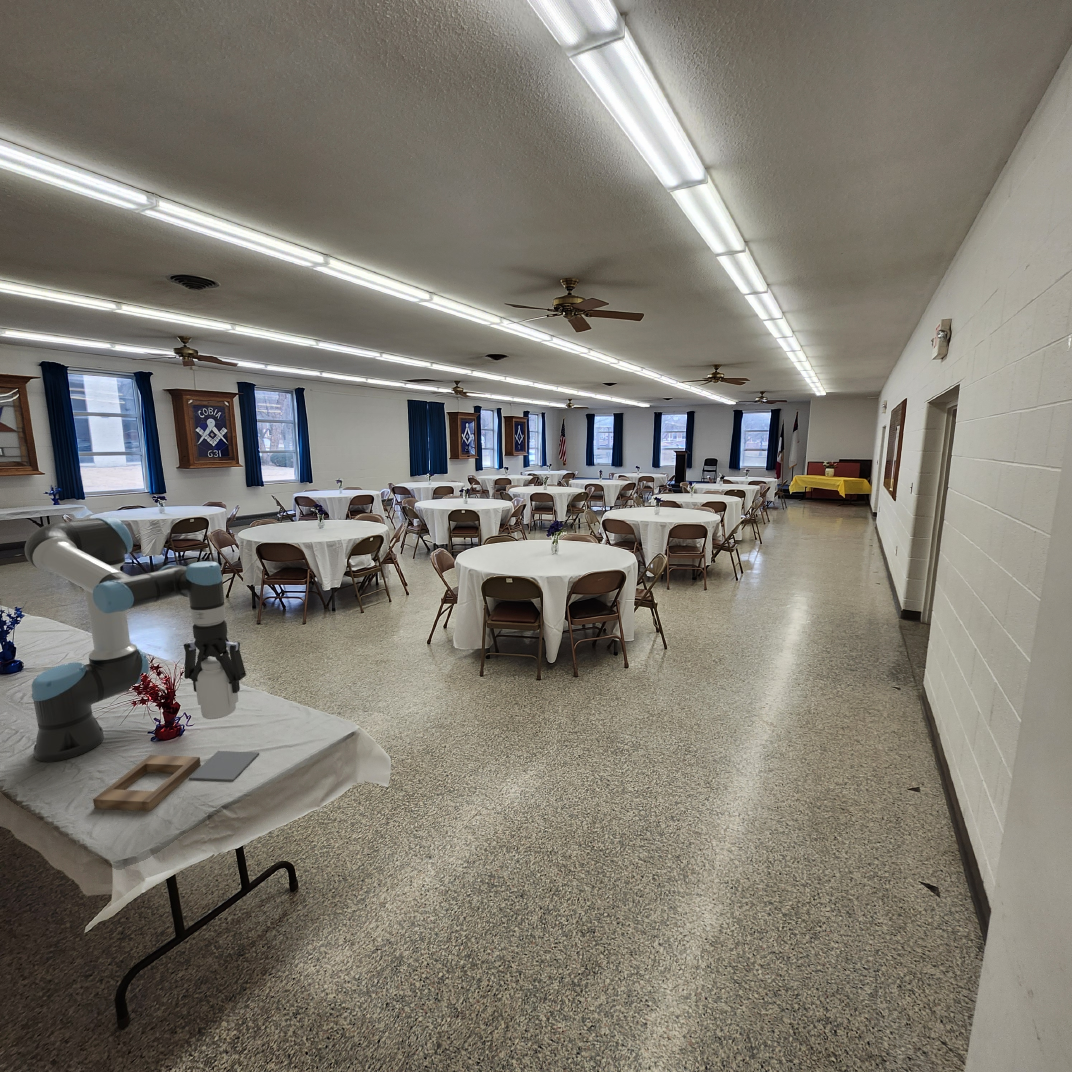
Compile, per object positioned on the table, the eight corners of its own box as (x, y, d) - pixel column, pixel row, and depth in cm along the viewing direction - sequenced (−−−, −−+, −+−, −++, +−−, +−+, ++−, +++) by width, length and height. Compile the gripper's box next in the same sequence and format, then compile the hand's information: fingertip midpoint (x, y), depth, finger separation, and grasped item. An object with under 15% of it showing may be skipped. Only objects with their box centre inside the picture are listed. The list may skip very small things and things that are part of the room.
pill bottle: (197, 722, 136) (191, 667, 133) (207, 707, 144) (201, 655, 141) (231, 718, 138) (226, 664, 136) (239, 703, 146) (234, 652, 143)
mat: (188, 779, 139) (188, 777, 138) (218, 752, 150) (218, 750, 150) (233, 781, 138) (233, 779, 138) (259, 754, 150) (259, 752, 150)
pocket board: (94, 808, 127) (92, 799, 127) (151, 763, 145) (150, 754, 145) (150, 810, 127) (148, 801, 126) (200, 765, 144) (199, 756, 144)
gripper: (159, 625, 133) (170, 708, 137) (239, 627, 132) (247, 711, 136) (181, 615, 141) (190, 694, 145) (256, 617, 140) (264, 697, 144)
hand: (218, 702), depth 141 cm, fingers closed on pill bottle, 8 cm apart
